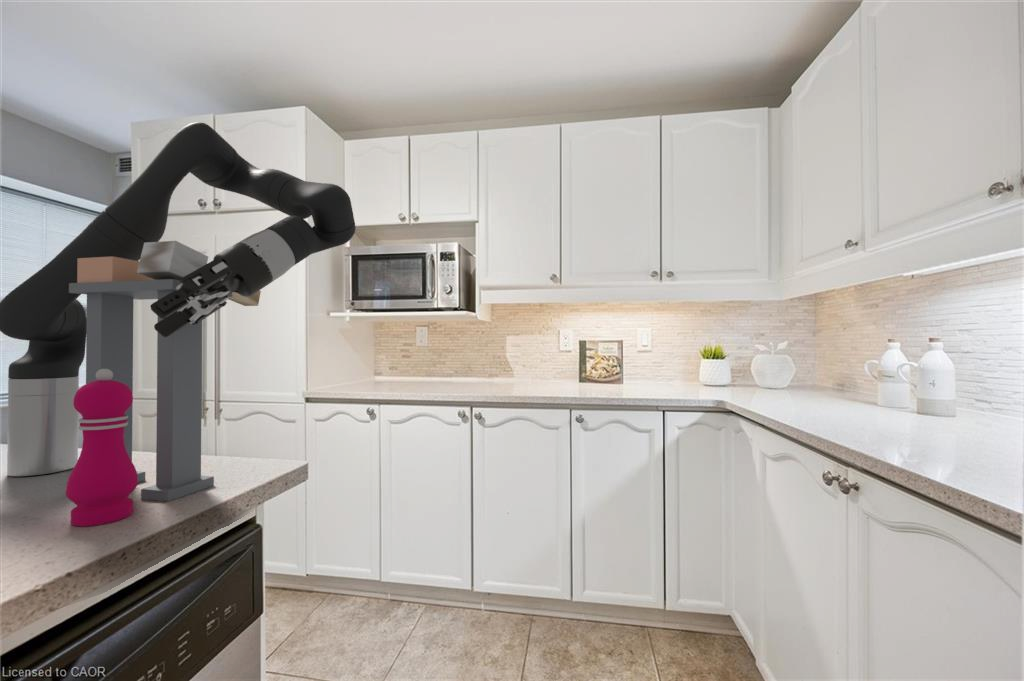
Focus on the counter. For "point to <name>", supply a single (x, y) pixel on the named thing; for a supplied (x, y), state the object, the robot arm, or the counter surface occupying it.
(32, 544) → the counter surface
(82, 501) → the pepper mill
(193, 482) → the shelf
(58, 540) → the counter surface
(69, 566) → the counter surface
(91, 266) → the base block
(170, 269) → the mallet
